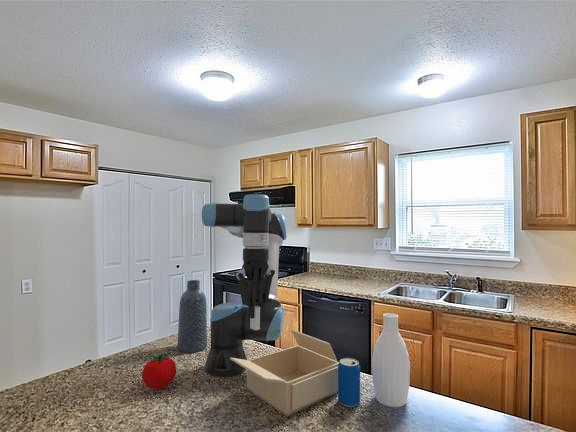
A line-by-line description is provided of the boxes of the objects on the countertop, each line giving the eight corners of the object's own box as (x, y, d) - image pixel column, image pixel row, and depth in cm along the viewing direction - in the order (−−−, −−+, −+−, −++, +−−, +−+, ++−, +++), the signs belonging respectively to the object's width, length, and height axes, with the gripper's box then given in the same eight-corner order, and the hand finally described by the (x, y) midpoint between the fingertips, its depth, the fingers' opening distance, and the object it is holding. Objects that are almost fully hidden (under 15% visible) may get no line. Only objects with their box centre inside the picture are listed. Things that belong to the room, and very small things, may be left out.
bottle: (390, 413, 94) (390, 322, 94) (364, 395, 104) (364, 312, 104) (418, 404, 99) (418, 317, 100) (390, 387, 109) (390, 308, 109)
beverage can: (360, 409, 96) (360, 367, 96) (337, 407, 97) (337, 365, 97) (360, 398, 102) (360, 358, 102) (338, 396, 103) (338, 356, 104)
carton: (245, 388, 108) (245, 359, 108) (296, 369, 122) (296, 344, 122) (288, 418, 91) (289, 384, 91) (342, 392, 105) (342, 363, 106)
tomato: (182, 386, 108) (182, 355, 109) (150, 398, 101) (151, 365, 101) (166, 376, 115) (167, 347, 116) (135, 387, 108) (136, 355, 108)
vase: (203, 353, 137) (204, 283, 138) (173, 353, 137) (174, 283, 137) (209, 342, 149) (210, 278, 150) (182, 342, 149) (183, 278, 150)
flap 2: (337, 360, 107) (329, 343, 105) (336, 361, 106) (328, 344, 104) (299, 344, 121) (291, 329, 118) (298, 345, 120) (291, 330, 118)
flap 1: (247, 362, 106) (229, 359, 102) (248, 360, 106) (230, 357, 102) (283, 382, 93) (264, 380, 88) (284, 380, 93) (265, 378, 89)
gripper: (243, 249, 91) (242, 336, 91) (281, 247, 100) (280, 327, 99) (229, 247, 97) (228, 329, 96) (266, 246, 105) (265, 321, 105)
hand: (254, 328), depth 98 cm, fingers closed
